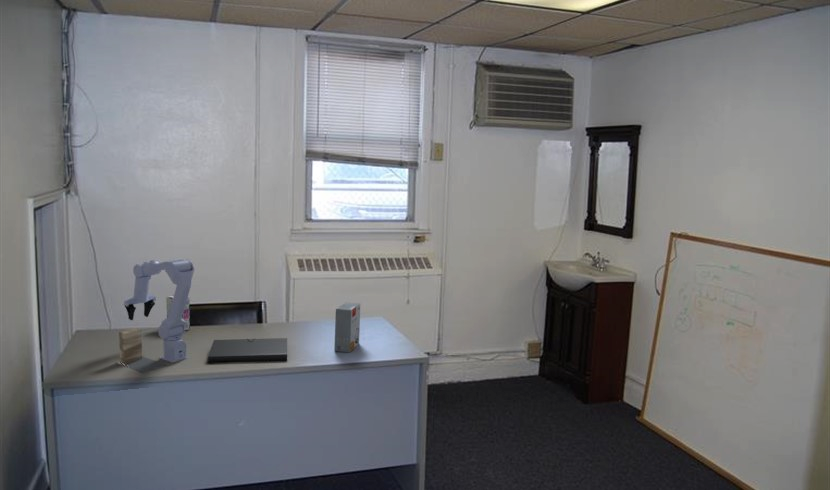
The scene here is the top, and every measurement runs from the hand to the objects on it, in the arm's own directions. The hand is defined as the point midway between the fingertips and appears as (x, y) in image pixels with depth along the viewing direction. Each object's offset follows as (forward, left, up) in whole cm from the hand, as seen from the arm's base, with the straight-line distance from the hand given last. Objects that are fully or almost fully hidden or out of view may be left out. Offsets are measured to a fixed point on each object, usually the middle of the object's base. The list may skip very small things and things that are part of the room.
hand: (138, 317), depth 293 cm
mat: (-20, +13, -14) cm, 28 cm away
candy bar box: (+12, -30, -14) cm, 35 cm away
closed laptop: (-44, -25, -15) cm, 53 cm away
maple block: (-13, +13, -14) cm, 23 cm away
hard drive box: (-72, -59, -14) cm, 94 cm away
